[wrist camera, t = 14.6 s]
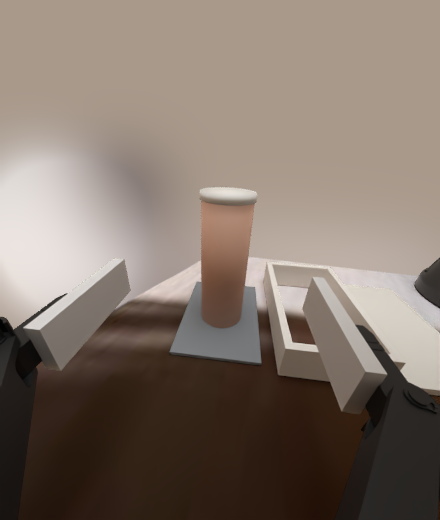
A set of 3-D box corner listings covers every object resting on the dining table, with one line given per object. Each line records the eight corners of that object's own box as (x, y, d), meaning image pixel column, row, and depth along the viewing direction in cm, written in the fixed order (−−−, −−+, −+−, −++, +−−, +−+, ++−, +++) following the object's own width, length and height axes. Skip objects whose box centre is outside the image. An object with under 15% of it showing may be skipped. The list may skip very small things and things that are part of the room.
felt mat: (254, 289, 34) (255, 287, 33) (260, 365, 21) (261, 363, 21) (196, 283, 34) (196, 281, 34) (169, 354, 22) (169, 351, 22)
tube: (242, 301, 30) (255, 189, 22) (242, 331, 25) (259, 198, 17) (204, 297, 30) (205, 186, 23) (196, 326, 25) (194, 194, 18)
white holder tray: (388, 292, 34) (398, 273, 32) (507, 404, 19) (541, 378, 17) (263, 281, 36) (266, 261, 34) (278, 374, 20) (285, 348, 19)
